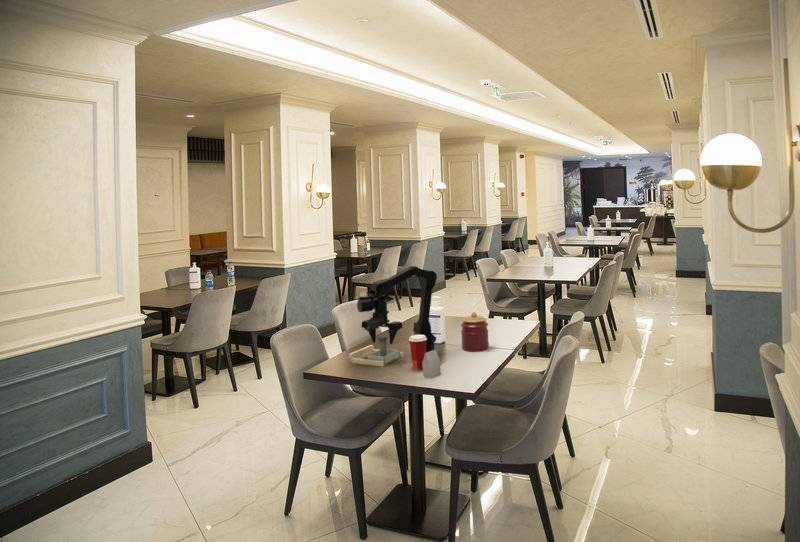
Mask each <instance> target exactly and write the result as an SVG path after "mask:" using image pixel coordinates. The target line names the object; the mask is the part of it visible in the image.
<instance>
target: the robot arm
mask: <svg viewBox="0 0 800 542" xmlns="http://www.w3.org/2000/svg"><path fill="white" fill-rule="evenodd" d="M437 275H438V274H437V273H436V272H435V271H433V270H428V269H427V270H426V269H422V268H419V267H418V266H415V265H410V266H409V267H407V268H405V269H403V270H402V271H401V270H400V272H398V273H396V274H394V275H391V276H390V277H388V278H384V279H379V280H376V281H374V282H373V283H372V285H371V288H370V290H369V292H368V293H367V295H366V296H359V297H358V300H357V304H356V308H357V311H358V312H359V313H365V312H372V311H374V312H372V317H370V318H369V319H366V320H363V321H362V322H361V328H362V329H363V330H365V331H366V332H368V334H369V336H370V338H371V340H372V341H371V342H373V343H374V344H375V343H376V339H377V336H376V335H377V330H378V329H379V328H381V327H382V328H387V329H388V330H387V332H388V334H389V345H393V343H394V340H395V337H396V335H397V333H398V331H400V330H401V329H402V328H403V324H402V321H391V322H390V319H388V314H390V311H389V310H388V301H387V300H390V299H392V297H391V296H390V295H389V294H388V293H389V292H390V291H391V290H392V288H394V287H395V286H397V285H399V284H401V283H402V282H405V281H407V279H410V278H412V277H415V278H419V284H420V287H421V288H420V289H421V291H420V294H421V295H420V303H419V314H418V320H417V322H413V329H412V331H413V334H414V335H425V336H426V338H427V340H426V353H427V352H430V351H433V350H436V349H435V342H436V341H437V337H436V336H435V335H434V334H433V333H432V326H431V322H430V313H431V303H432V294H433V293H432V292H433V289H434V287H435V285H436V283H437V279H438V276H437Z"/></svg>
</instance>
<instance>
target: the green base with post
mask: <svg viewBox="0 0 800 542" xmlns="http://www.w3.org/2000/svg"><path fill="white" fill-rule="evenodd" d="M378 341H379V349H378V351H376V352H373V353H371V354H369V355H367V356H366V359H368V360H377V361H384V366H385V365H387V364H389V363H391V362H394V361H395V360H397V359H400V358H401V357H400V352H401V351H400V349H393V348H388V345H387V341H388V337H387V336H380V337H378Z"/></svg>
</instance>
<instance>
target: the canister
mask: <svg viewBox="0 0 800 542" xmlns="http://www.w3.org/2000/svg"><path fill="white" fill-rule="evenodd" d="M486 320H487V318H485V317H484V316H482V315H479V314H477V312H475V311H474V312H471V315H468V316H465V317H464V318H462V320H461V321H462V323H461V324H460V326H461V331H460V333H461V347H462V348H461V349H462V350H463V351H465V352H483V351H486V350H488V349H489V347H490V341H489V330H488V325H489V323H488V322H487V321H486Z"/></svg>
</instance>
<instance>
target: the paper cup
mask: <svg viewBox="0 0 800 542" xmlns="http://www.w3.org/2000/svg"><path fill="white" fill-rule="evenodd" d="M426 340H427V338H426V336H425V335H410V336H409V338H408V341H409V346H410V354H411V356H410V357H411V363H412V369H413V370H414V369H415V371H423V363H422V362H423V359H424V356H425V353H426Z"/></svg>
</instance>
